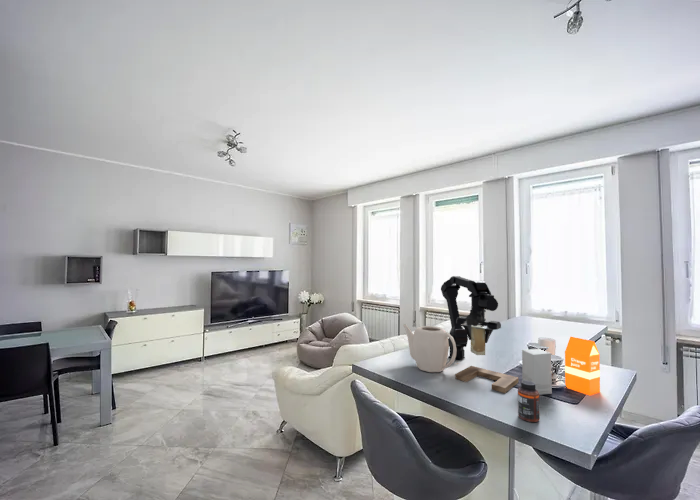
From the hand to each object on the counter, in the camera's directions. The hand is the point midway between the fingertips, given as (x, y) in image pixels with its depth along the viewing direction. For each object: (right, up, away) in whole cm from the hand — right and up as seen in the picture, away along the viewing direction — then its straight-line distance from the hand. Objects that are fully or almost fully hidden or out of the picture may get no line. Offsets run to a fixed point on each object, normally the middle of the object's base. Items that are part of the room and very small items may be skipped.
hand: (477, 341), depth 145 cm
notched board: (-2, -13, -14) cm, 19 cm away
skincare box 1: (0, -6, 0) cm, 6 cm away
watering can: (-23, -13, 0) cm, 27 cm away
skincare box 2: (+13, -13, -24) cm, 30 cm away
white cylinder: (+31, -14, -2) cm, 34 cm away
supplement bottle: (-2, -11, -45) cm, 47 cm away
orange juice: (+33, -13, -21) cm, 41 cm away
